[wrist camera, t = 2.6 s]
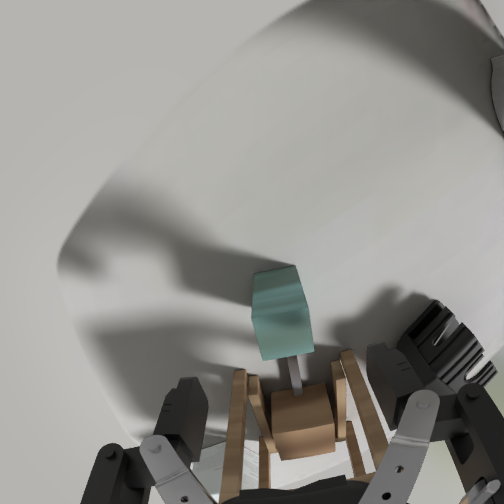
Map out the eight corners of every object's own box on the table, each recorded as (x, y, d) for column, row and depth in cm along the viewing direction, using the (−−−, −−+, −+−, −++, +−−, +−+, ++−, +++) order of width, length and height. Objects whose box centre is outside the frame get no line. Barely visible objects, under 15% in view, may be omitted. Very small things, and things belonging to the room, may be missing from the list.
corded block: (240, 276, 21) (232, 321, 15) (309, 262, 20) (326, 303, 14) (279, 422, 26) (281, 469, 20) (327, 413, 25) (336, 459, 20)
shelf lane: (233, 370, 23) (217, 509, 11) (351, 348, 22) (401, 480, 10) (261, 442, 27) (259, 543, 14) (351, 426, 26) (376, 525, 13)
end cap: (377, 351, 23) (404, 404, 16) (433, 294, 21) (476, 336, 14) (424, 387, 24) (448, 430, 18) (470, 342, 23) (503, 379, 16)
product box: (194, 449, 28) (185, 497, 21) (232, 437, 27) (227, 491, 20) (227, 468, 30) (223, 513, 23) (265, 457, 28) (265, 506, 21)
